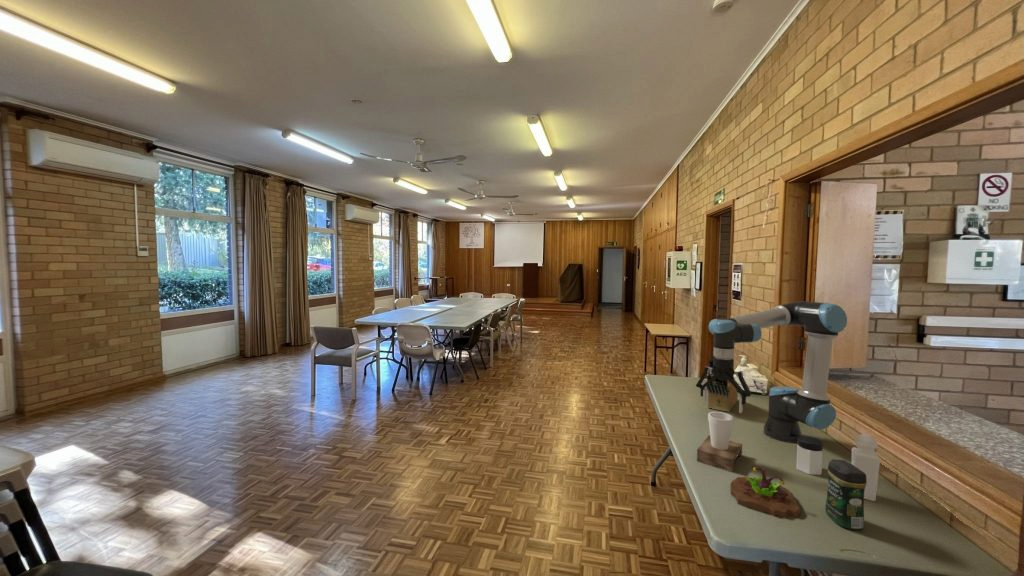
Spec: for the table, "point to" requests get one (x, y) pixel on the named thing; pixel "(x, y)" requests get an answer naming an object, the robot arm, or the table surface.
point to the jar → (809, 455)
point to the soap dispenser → (867, 463)
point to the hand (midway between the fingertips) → (722, 408)
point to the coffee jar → (845, 494)
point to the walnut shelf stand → (719, 454)
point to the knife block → (720, 393)
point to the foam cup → (720, 429)
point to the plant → (764, 495)
